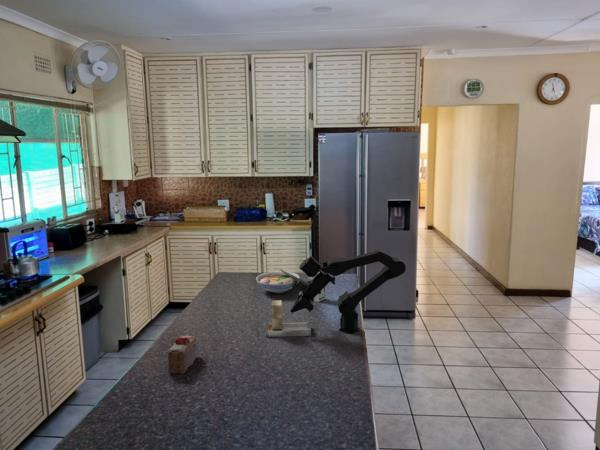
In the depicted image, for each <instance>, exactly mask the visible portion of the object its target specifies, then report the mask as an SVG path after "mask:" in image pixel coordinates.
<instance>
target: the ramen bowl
mask: <svg viewBox="0 0 600 450" xmlns="http://www.w3.org/2000/svg"><path fill="white" fill-rule="evenodd" d="M278 269H279V268H278ZM294 277H296V278H298V279H301V276H300V275H299V274H298V273H295V272H291V271H285V270H283V269H279V271H268V272H265V273H261V274H258V275H257V276H256V278H255V280H256V282H257V283H258V285H259V286H260V287H261V288H262V289H263V290H265V291H267V292H271V293H273V294H282V293H285V292H287V291H289V290H291V289H293V288H292V287H291V286H292V285H291V284H292V282H293V279H294Z"/></svg>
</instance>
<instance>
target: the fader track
mask: <svg viewBox="0 0 600 450" xmlns="http://www.w3.org/2000/svg"><path fill="white" fill-rule="evenodd" d="M265 325H266V327H265V337H266V338H275V337H276V338H278V337H280V338H281V337H303V336H304V337H305V336H306V337H308V336H311V337H312V326H311V322H310V321H302V322H301V321H300V322H297V321H295V322H282V330H272V322H271V323H269V322H268V323H266V324H265Z"/></svg>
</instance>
